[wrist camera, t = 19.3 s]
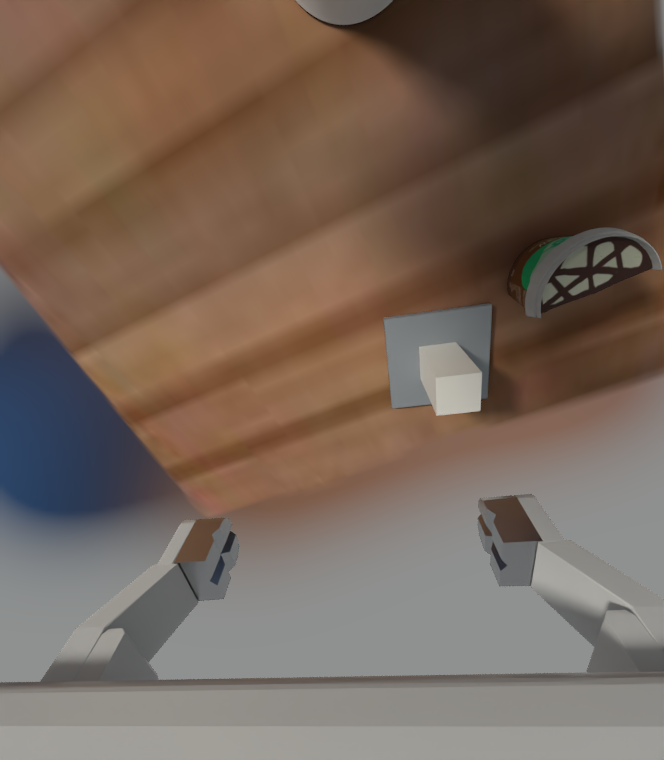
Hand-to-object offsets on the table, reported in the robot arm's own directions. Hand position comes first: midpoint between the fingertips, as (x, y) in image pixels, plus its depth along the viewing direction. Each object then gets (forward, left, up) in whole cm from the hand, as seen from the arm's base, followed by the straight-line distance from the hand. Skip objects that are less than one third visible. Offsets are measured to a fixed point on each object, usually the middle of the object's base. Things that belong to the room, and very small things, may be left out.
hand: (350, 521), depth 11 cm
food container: (-1, +24, -37) cm, 44 cm away
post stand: (+11, +11, -37) cm, 40 cm away
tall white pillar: (+11, +11, -36) cm, 39 cm away
